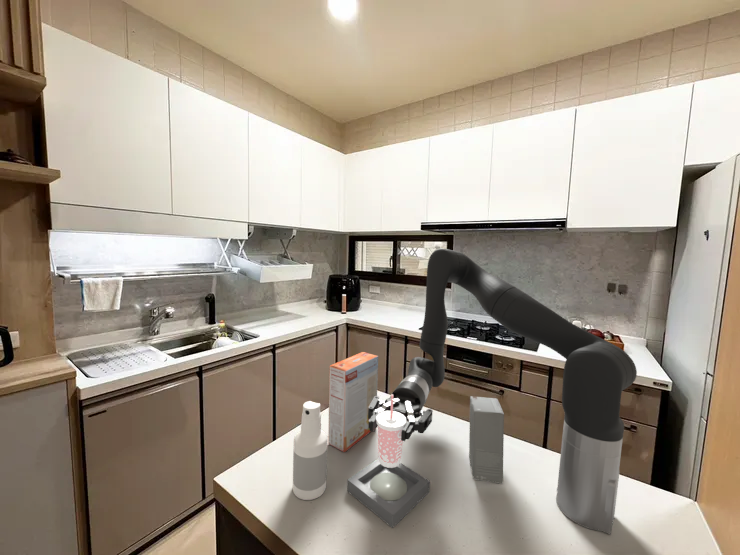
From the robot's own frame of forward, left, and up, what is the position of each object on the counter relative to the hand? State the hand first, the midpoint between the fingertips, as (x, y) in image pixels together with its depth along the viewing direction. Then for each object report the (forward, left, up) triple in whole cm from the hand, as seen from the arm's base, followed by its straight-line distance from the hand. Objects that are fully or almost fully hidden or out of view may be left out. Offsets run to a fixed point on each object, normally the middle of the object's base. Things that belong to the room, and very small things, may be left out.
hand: (387, 431), depth 61 cm
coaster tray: (+1, -2, -14) cm, 14 cm away
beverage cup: (+1, -2, -8) cm, 8 cm away
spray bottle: (+13, +9, -14) cm, 21 cm away
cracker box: (+20, -10, -14) cm, 26 cm away
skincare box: (-10, -23, -14) cm, 29 cm away
